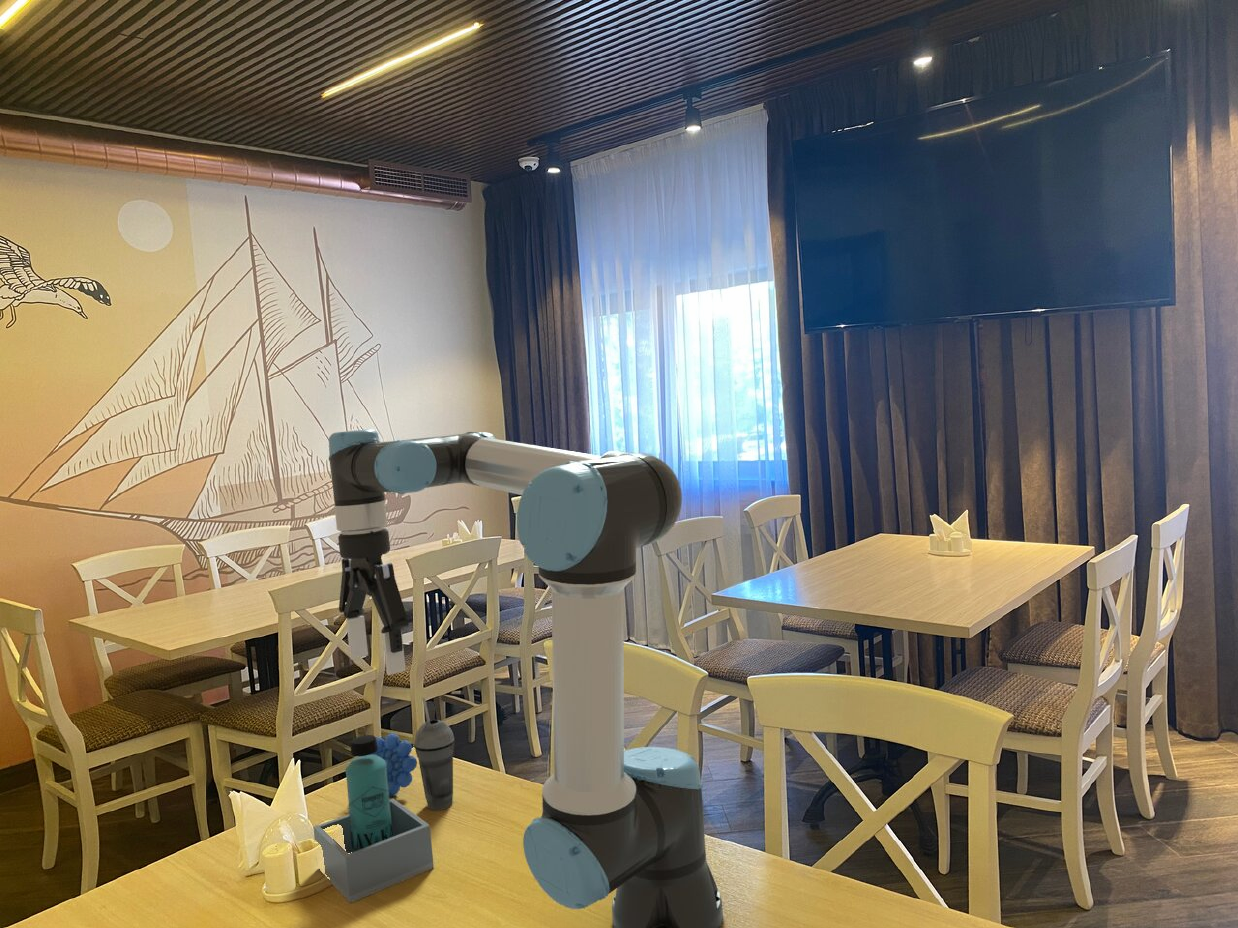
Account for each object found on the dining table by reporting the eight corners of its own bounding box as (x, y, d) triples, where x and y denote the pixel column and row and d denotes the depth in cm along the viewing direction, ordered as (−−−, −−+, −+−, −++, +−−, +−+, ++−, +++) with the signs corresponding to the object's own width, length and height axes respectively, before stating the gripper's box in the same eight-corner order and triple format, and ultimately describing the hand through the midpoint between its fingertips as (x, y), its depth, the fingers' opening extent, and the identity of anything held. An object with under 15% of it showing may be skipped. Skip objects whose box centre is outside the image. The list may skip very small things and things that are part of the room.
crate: (433, 867, 142) (429, 825, 142) (350, 902, 134) (345, 857, 133) (397, 838, 153) (393, 798, 152) (317, 868, 145) (313, 826, 144)
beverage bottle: (345, 863, 143) (332, 740, 142) (381, 845, 148) (369, 727, 146) (368, 876, 139) (354, 749, 137) (404, 857, 144) (392, 735, 142)
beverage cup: (456, 812, 161) (446, 702, 159) (415, 814, 161) (405, 705, 160) (463, 793, 168) (454, 689, 167) (425, 796, 168) (415, 691, 167)
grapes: (430, 786, 173) (424, 725, 172) (413, 802, 166) (407, 739, 165) (376, 783, 176) (370, 723, 175) (357, 799, 169) (351, 737, 168)
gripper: (422, 531, 132) (436, 672, 134) (353, 522, 152) (366, 645, 153) (374, 539, 128) (389, 686, 129) (309, 528, 147) (323, 656, 149)
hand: (377, 664), depth 141 cm, fingers open, 13 cm apart
